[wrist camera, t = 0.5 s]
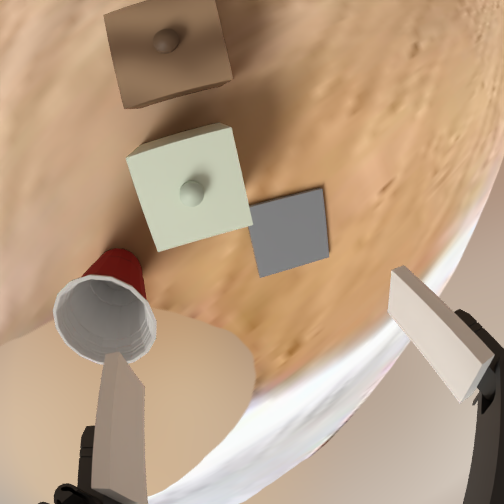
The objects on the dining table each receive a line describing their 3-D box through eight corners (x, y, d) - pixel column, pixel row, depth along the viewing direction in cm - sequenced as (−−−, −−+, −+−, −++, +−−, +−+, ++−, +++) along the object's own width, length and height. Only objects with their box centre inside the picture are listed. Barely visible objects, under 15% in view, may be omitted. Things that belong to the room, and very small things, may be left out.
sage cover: (140, 144, 30) (123, 160, 22) (219, 122, 31) (233, 128, 23) (163, 217, 35) (157, 257, 26) (236, 196, 36) (255, 229, 27)
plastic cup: (171, 240, 36) (168, 297, 26) (150, 309, 40) (146, 374, 30) (88, 216, 33) (53, 266, 22) (77, 289, 36) (52, 350, 26)
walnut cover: (123, 36, 24) (100, 11, 15) (204, 14, 25) (212, -19, 16) (139, 108, 29) (121, 109, 20) (220, 86, 29) (235, 77, 21)
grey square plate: (243, 206, 36) (244, 208, 36) (320, 187, 37) (322, 188, 37) (259, 275, 41) (260, 277, 41) (327, 255, 42) (329, 256, 42)
